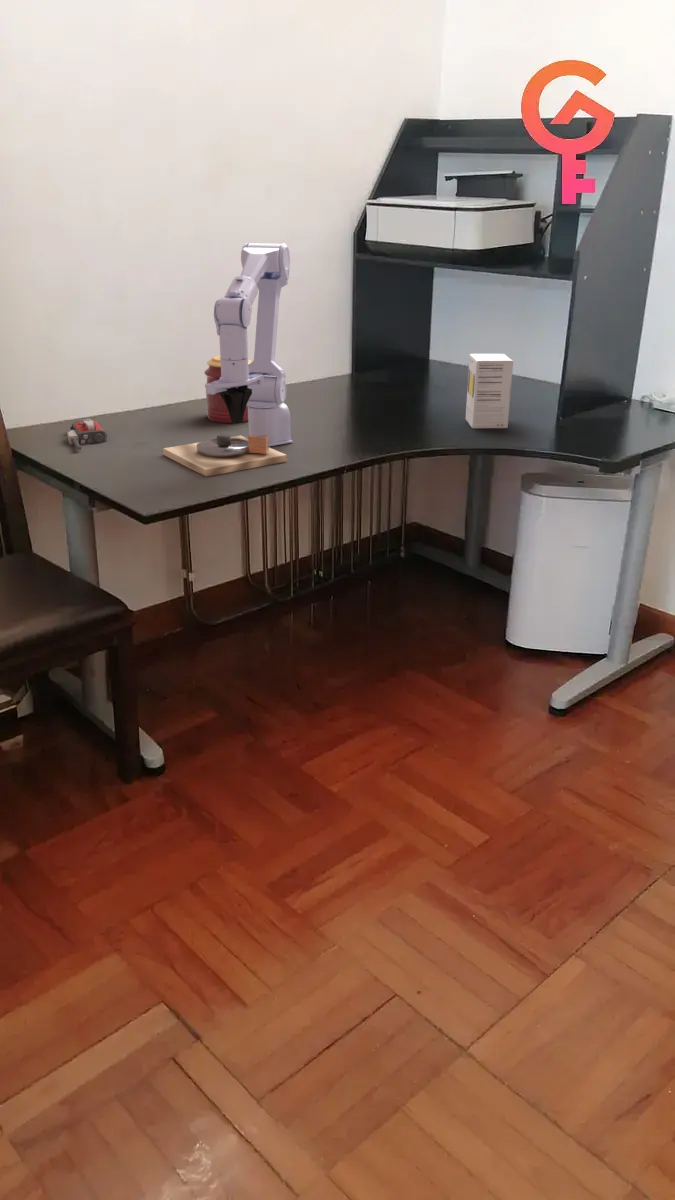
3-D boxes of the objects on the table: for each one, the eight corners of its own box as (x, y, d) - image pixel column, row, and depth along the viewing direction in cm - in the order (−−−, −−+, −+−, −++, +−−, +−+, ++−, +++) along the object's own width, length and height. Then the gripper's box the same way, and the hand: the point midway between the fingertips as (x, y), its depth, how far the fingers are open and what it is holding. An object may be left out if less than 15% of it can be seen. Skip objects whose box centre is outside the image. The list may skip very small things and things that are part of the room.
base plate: (241, 441, 223) (240, 420, 221) (286, 461, 208) (286, 439, 206) (163, 454, 213) (162, 433, 210) (206, 476, 198) (204, 453, 196)
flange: (188, 454, 205) (187, 439, 204) (207, 440, 216) (207, 425, 215) (259, 459, 202) (259, 443, 201) (275, 445, 213) (274, 429, 211)
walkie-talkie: (62, 433, 230) (74, 454, 214) (60, 416, 229) (72, 435, 212) (99, 430, 233) (113, 451, 217) (97, 412, 232) (112, 432, 215)
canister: (203, 423, 239) (200, 352, 231) (209, 411, 250) (206, 343, 243) (255, 423, 239) (253, 352, 232) (258, 411, 251) (256, 343, 243)
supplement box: (464, 419, 244) (468, 353, 237) (499, 419, 245) (504, 352, 238) (472, 429, 235) (476, 360, 228) (508, 428, 236) (514, 360, 229)
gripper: (247, 351, 203) (249, 413, 209) (194, 360, 193) (198, 425, 199) (269, 355, 199) (271, 419, 204) (217, 364, 189) (220, 431, 195)
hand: (236, 422), depth 201 cm, fingers closed
